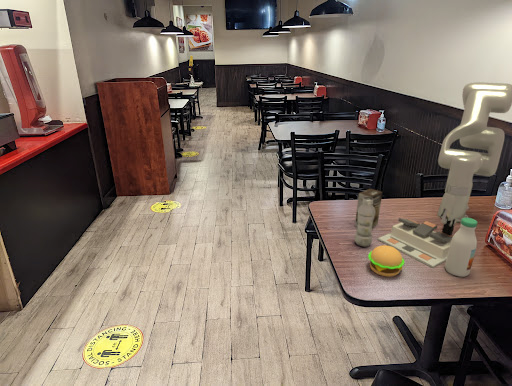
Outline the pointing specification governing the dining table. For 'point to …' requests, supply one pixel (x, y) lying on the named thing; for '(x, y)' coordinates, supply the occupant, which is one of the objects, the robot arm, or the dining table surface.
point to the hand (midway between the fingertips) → (446, 233)
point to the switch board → (414, 253)
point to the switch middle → (425, 229)
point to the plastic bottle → (365, 222)
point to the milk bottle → (462, 249)
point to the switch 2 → (441, 236)
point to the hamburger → (386, 261)
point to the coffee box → (376, 204)
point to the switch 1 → (409, 222)
